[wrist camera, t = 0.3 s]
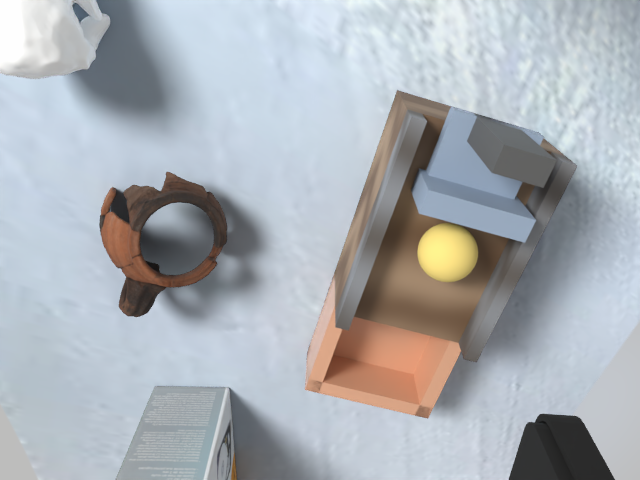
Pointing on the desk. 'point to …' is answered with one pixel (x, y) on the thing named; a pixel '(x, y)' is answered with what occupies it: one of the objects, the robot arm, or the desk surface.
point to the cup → (378, 363)
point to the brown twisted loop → (126, 237)
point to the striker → (482, 175)
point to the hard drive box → (183, 437)
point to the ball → (447, 252)
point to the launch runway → (407, 230)
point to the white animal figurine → (48, 37)
